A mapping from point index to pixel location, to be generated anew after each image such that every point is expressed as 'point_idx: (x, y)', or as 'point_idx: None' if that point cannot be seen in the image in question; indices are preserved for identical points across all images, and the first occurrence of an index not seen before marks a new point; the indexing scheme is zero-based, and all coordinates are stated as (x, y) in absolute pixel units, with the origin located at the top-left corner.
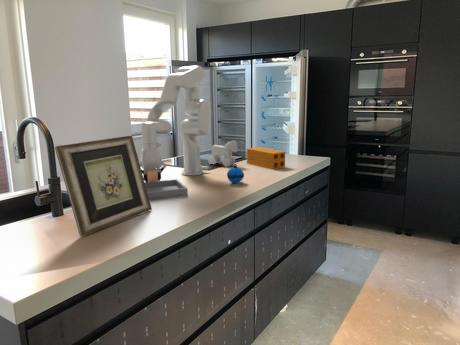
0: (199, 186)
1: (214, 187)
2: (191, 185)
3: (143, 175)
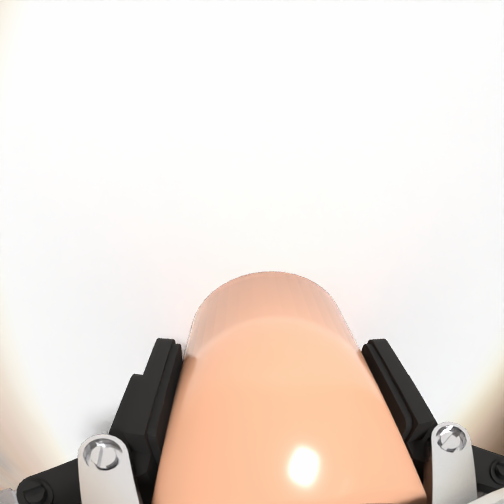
0: (486, 441)
1: (498, 452)
2: (483, 423)
3: (114, 429)
